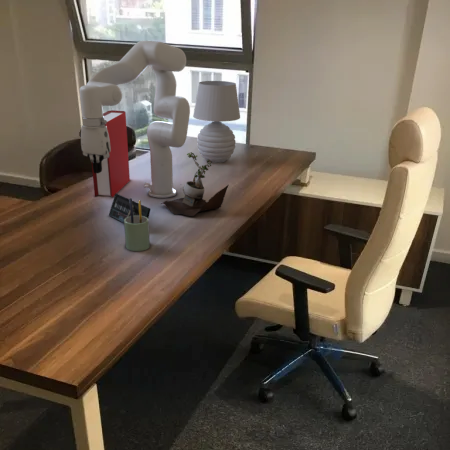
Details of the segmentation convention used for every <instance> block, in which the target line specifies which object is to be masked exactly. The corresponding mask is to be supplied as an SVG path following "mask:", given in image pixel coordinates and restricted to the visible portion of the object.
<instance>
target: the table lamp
mask: <svg viewBox="0 0 450 450" xmlns="http://www.w3.org/2000/svg"><path fill="white" fill-rule="evenodd" d="M192 117H193V118H194V119H196V120H200V121H205V122H210V123H208V124H206V125H204V126H203V127H202V128H201V129H200V131H199V133H198V134H197V139H196V143H197V144H196V148H197V150H198V154H200V155H201V157H202V158H203V159H204V160H205V161H206V162H207V161H208V160H210V161H212V163H224V162H226V161H227V160H229V159H230V158H231V157H232V155H233V154H234V152H235V149H236V143H237V141H236V135H235V134H234V132H233V130H232V129H231V128H230V126H228V125H227V124H225V123H223V122H235V121H238V120H240V119H241V112H240V104H239V98H238V90H237V83H236V82H234V81H233V82H232V81H227V80H226V81H225V80H203V81H199V82H198V86H197V92H196V97H195V104H194V108H193V115H192Z"/></svg>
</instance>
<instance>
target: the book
mask: <svg viewBox="0 0 450 450" xmlns="http://www.w3.org/2000/svg"><path fill="white" fill-rule="evenodd" d="M103 117H104V120H106V121H107V123H106V124H104V126H106V127H107V130H108V134H109V139H110V147H111V152H109V155H110V157H109V158H105V159H103V161H102V172H100V173H94V170H93V164H92V162H91V161H90V162H91V171H92V180H93V182H92V183H93V193H94V197H96V196H109V197H111V198H114V196H115V193H116V194H118V193H119V192H120V191H121V190H122V189H123V188H124V187H126V186H127V184H128V183H130V181H131V178H130V177H131V176H130V162H129V145H128V144H129V143H128V130H127V128H128V127H127V113H126V111H125V110H115V109H114V110H113V109H112V110H107V111H105V112H103Z"/></svg>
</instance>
